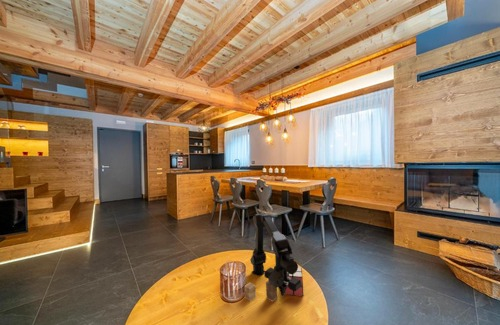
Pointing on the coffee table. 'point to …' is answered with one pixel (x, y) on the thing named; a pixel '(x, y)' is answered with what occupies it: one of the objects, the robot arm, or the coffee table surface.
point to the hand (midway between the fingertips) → (282, 295)
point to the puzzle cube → (299, 276)
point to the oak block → (250, 291)
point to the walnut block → (271, 291)
